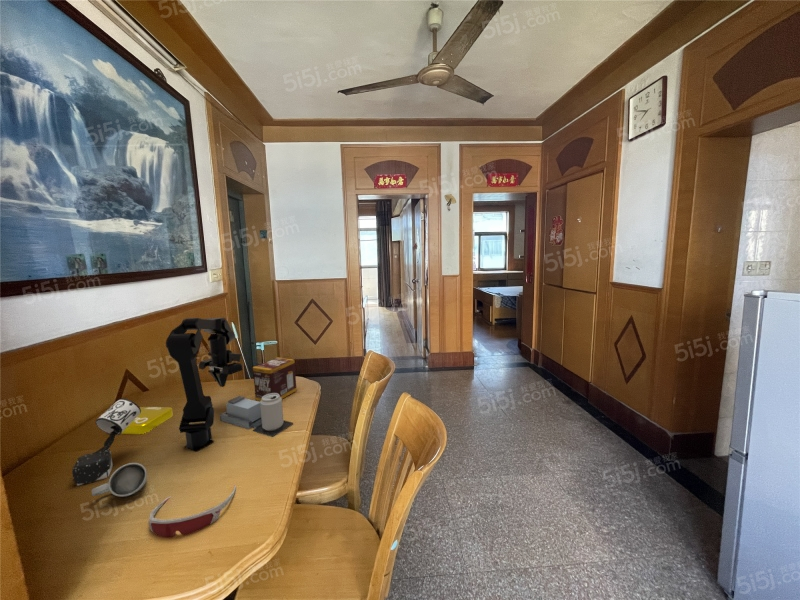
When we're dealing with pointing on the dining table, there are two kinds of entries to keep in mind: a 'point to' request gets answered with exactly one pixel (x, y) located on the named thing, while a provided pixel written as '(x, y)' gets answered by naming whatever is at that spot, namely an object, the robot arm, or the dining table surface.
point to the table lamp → (101, 460)
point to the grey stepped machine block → (244, 408)
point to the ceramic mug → (124, 481)
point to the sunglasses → (186, 520)
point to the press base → (253, 424)
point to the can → (271, 411)
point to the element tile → (148, 419)
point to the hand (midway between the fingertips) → (222, 386)
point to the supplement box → (275, 378)
